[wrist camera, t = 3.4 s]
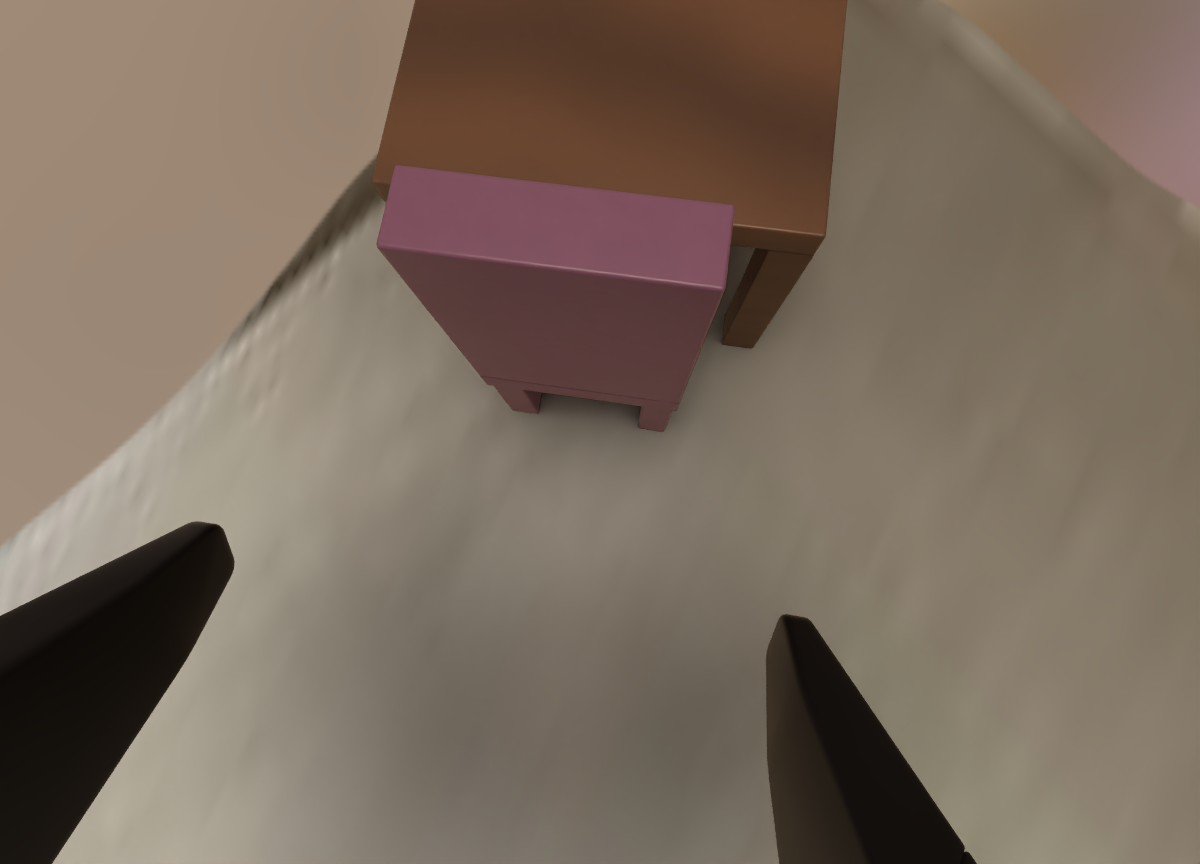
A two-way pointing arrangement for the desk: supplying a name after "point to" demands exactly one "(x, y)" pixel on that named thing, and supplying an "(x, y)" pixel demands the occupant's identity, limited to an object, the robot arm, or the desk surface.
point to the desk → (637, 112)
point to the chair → (562, 283)
